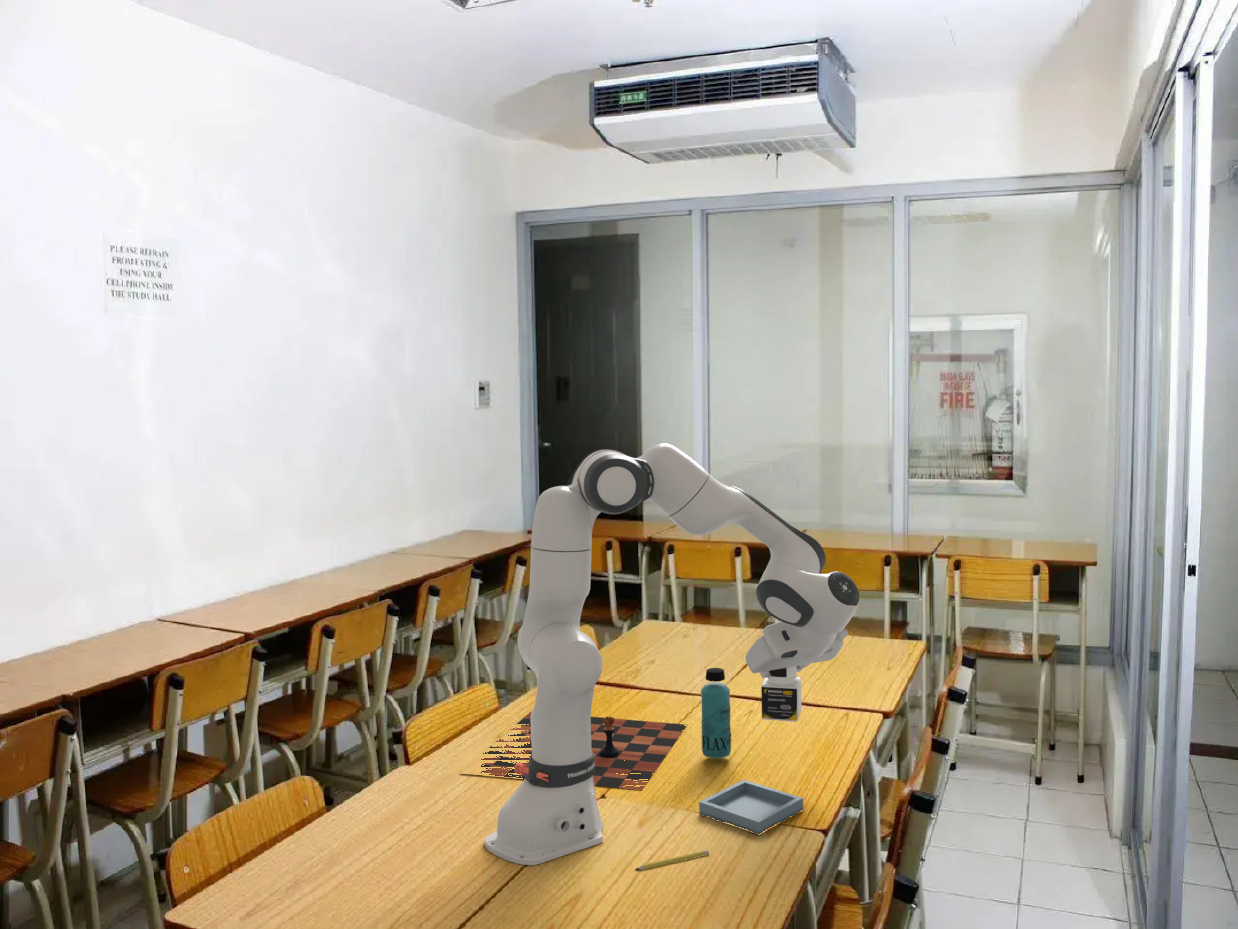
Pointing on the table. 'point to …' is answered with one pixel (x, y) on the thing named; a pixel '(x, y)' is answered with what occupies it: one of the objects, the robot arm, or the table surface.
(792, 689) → the medicine bottle
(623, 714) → the table surface
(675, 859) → the pencil
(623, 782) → the chessboard
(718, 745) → the beverage bottle
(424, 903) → the table surface
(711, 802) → the tray
